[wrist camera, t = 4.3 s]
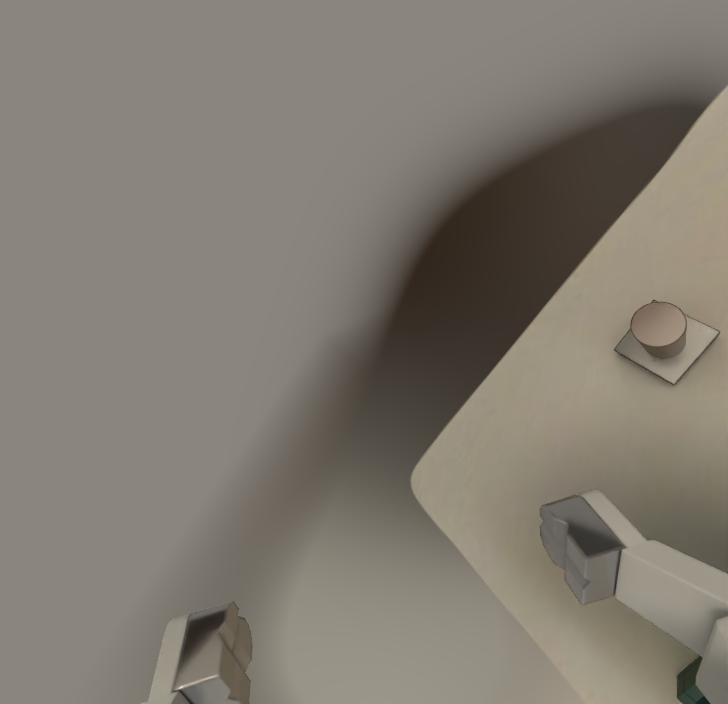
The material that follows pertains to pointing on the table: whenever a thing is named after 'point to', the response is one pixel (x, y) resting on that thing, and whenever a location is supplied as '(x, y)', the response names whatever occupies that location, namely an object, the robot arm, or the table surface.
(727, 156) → the table surface
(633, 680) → the table surface
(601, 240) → the table surface
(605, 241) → the table surface
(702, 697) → the tray
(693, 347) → the brush
